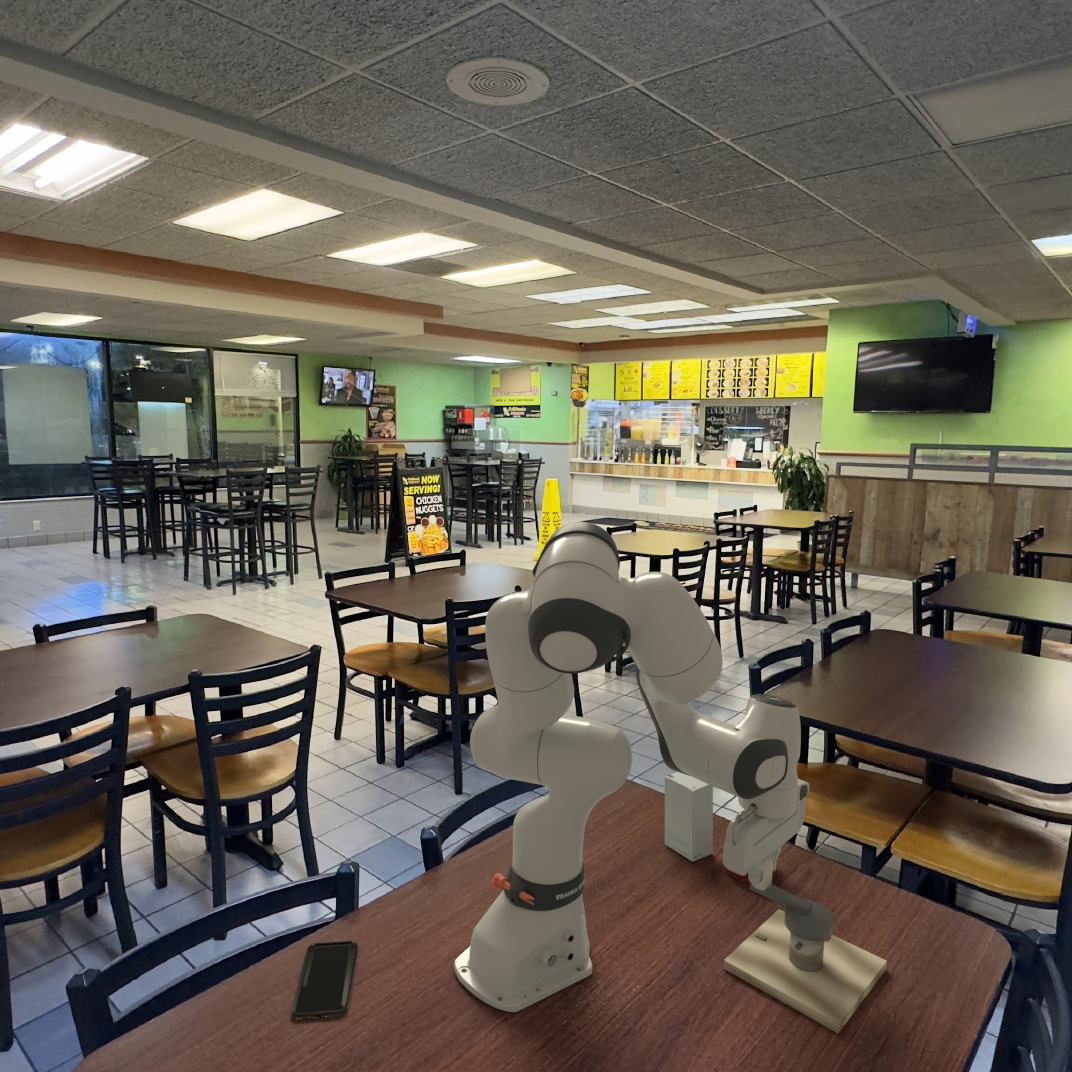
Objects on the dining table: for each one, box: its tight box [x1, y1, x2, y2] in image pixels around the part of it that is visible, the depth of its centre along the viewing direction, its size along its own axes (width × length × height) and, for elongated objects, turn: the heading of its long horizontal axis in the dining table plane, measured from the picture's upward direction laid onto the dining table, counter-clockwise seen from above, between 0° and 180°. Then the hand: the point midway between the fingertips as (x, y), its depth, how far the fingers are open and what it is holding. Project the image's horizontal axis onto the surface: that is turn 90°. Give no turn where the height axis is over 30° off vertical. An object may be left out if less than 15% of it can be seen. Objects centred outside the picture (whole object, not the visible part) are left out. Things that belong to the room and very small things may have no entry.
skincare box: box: [664, 771, 714, 862], centre depth 151 cm, size 8×6×15 cm
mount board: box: [723, 909, 888, 1034], centre depth 118 cm, size 18×18×7 cm
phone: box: [291, 940, 359, 1019], centre depth 115 cm, size 8×1×15 cm
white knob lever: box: [749, 855, 834, 941], centre depth 119 cm, size 7×13×8 cm, turn 46°
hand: (762, 875), depth 122 cm, fingers closed on white knob lever, 3 cm apart
